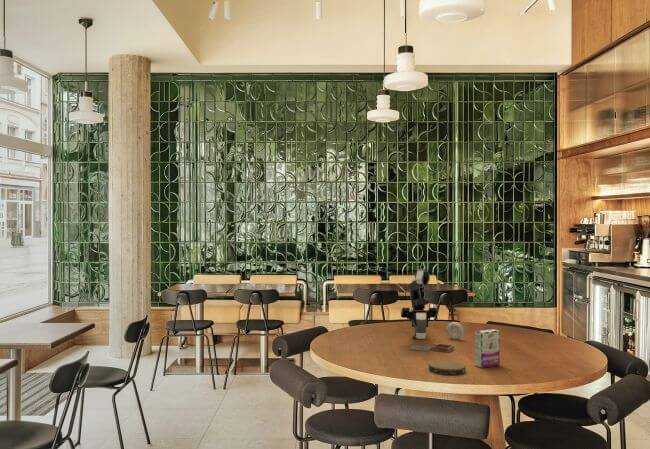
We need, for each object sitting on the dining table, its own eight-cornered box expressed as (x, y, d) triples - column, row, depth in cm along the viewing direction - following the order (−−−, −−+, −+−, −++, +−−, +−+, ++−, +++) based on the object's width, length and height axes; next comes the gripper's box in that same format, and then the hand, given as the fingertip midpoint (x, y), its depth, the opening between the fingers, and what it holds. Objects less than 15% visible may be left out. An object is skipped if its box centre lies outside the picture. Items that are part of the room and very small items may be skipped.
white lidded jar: (417, 336, 304) (417, 311, 303) (427, 337, 301) (428, 312, 301) (413, 338, 299) (414, 313, 299) (424, 339, 296) (424, 314, 296)
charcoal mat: (414, 345, 307) (414, 344, 307) (432, 348, 302) (432, 347, 302) (407, 349, 298) (407, 348, 298) (426, 351, 293) (426, 350, 293)
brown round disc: (423, 372, 253) (423, 365, 253) (437, 365, 267) (437, 358, 267) (457, 378, 245) (457, 371, 245) (470, 370, 258) (470, 363, 258)
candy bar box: (492, 363, 270) (492, 328, 270) (499, 365, 266) (500, 330, 266) (474, 365, 265) (474, 330, 265) (481, 368, 261) (482, 332, 261)
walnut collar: (437, 347, 304) (437, 343, 304) (454, 349, 299) (454, 345, 299) (431, 350, 296) (431, 346, 296) (448, 352, 292) (448, 348, 292)
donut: (445, 339, 326) (445, 321, 326) (446, 338, 329) (447, 320, 329) (463, 340, 321) (463, 323, 321) (464, 339, 325) (464, 322, 325)
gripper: (402, 292, 303) (406, 316, 292) (436, 292, 304) (442, 316, 293) (398, 305, 311) (403, 329, 300) (432, 305, 312) (437, 329, 301)
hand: (421, 325), depth 298 cm, fingers closed on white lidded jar, 6 cm apart
